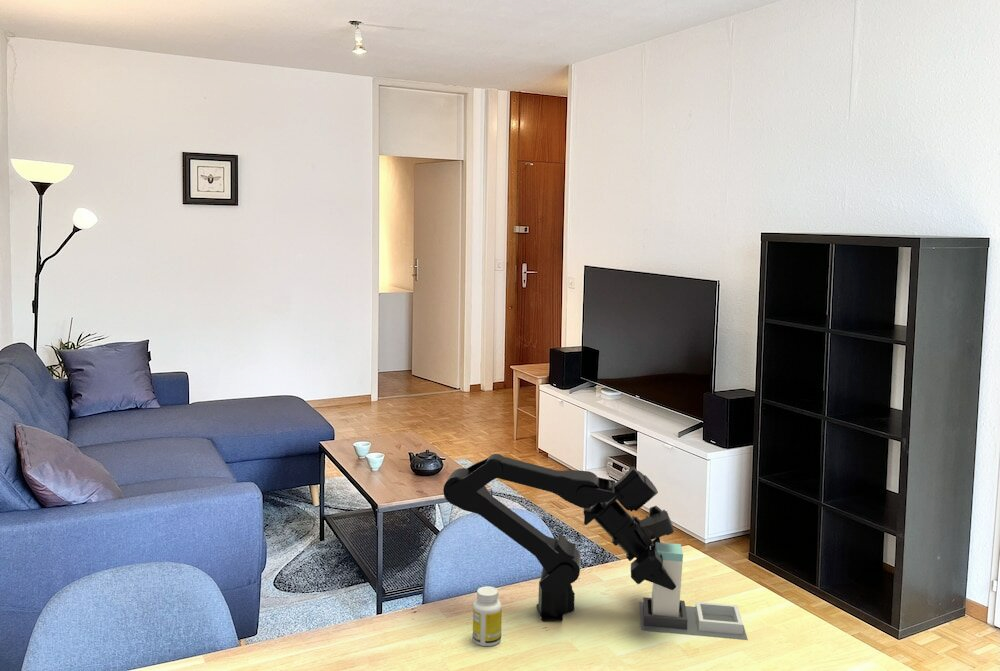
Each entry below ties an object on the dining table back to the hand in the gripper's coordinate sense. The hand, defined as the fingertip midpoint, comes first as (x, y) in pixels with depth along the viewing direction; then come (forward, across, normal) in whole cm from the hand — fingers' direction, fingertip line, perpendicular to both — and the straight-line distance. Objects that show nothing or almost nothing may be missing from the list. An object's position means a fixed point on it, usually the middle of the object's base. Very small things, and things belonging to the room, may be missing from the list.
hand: (673, 582), depth 162 cm
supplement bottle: (-19, -13, +31) cm, 38 cm away
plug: (+4, 0, +6) cm, 7 cm away
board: (+9, 0, +3) cm, 9 cm away
